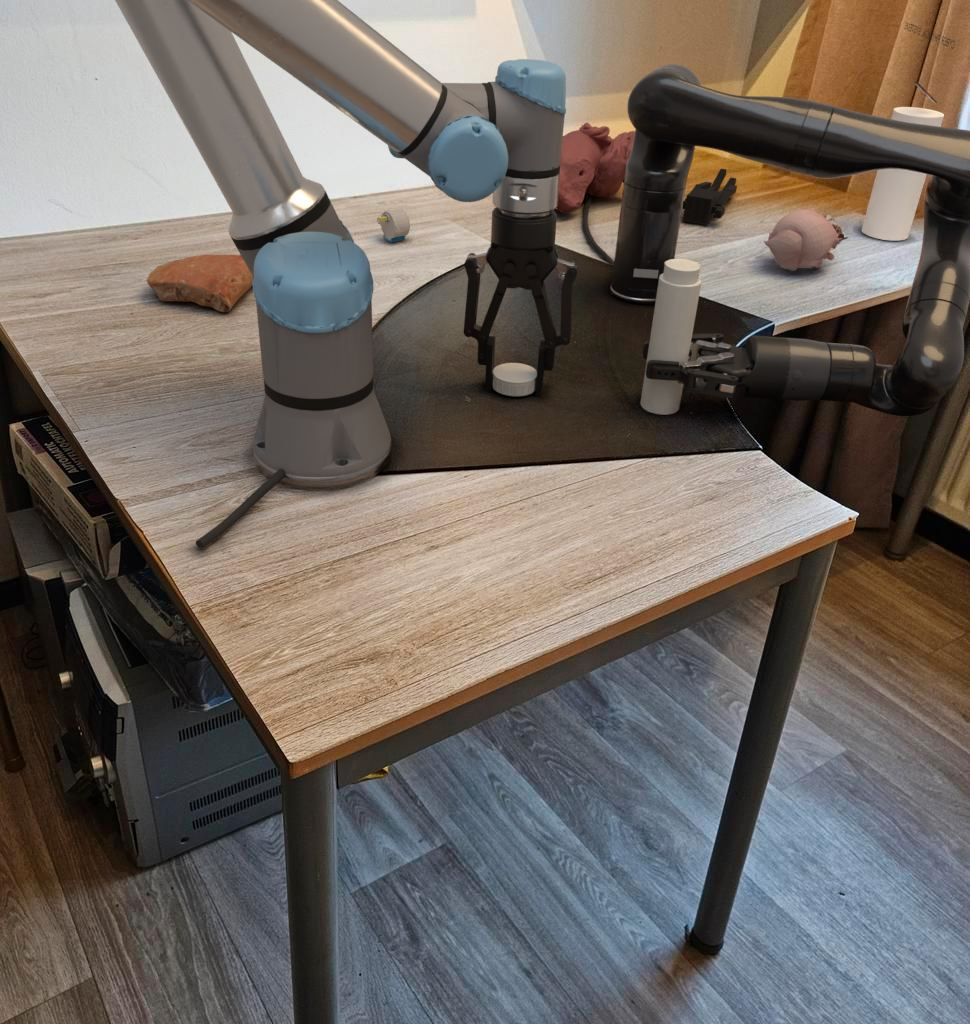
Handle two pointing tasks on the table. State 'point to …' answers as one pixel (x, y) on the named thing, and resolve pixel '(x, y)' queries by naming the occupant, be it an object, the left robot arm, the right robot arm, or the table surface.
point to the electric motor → (394, 225)
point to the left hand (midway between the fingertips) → (514, 389)
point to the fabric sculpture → (591, 165)
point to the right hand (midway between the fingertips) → (645, 359)
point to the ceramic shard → (203, 280)
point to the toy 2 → (804, 239)
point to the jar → (671, 331)
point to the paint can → (899, 180)
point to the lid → (514, 379)
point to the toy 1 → (708, 200)
